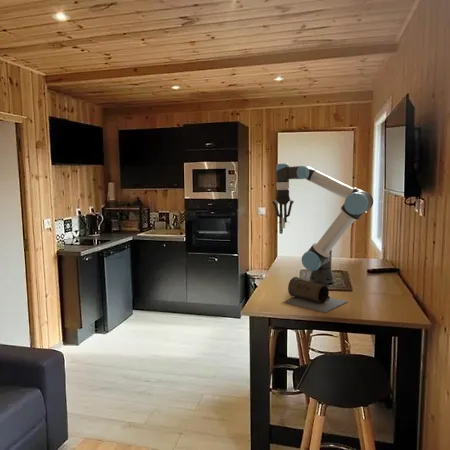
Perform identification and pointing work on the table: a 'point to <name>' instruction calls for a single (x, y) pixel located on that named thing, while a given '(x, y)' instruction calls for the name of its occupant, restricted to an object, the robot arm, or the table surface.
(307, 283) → the beer stein
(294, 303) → the mat
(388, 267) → the table surface
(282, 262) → the table surface
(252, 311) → the table surface
